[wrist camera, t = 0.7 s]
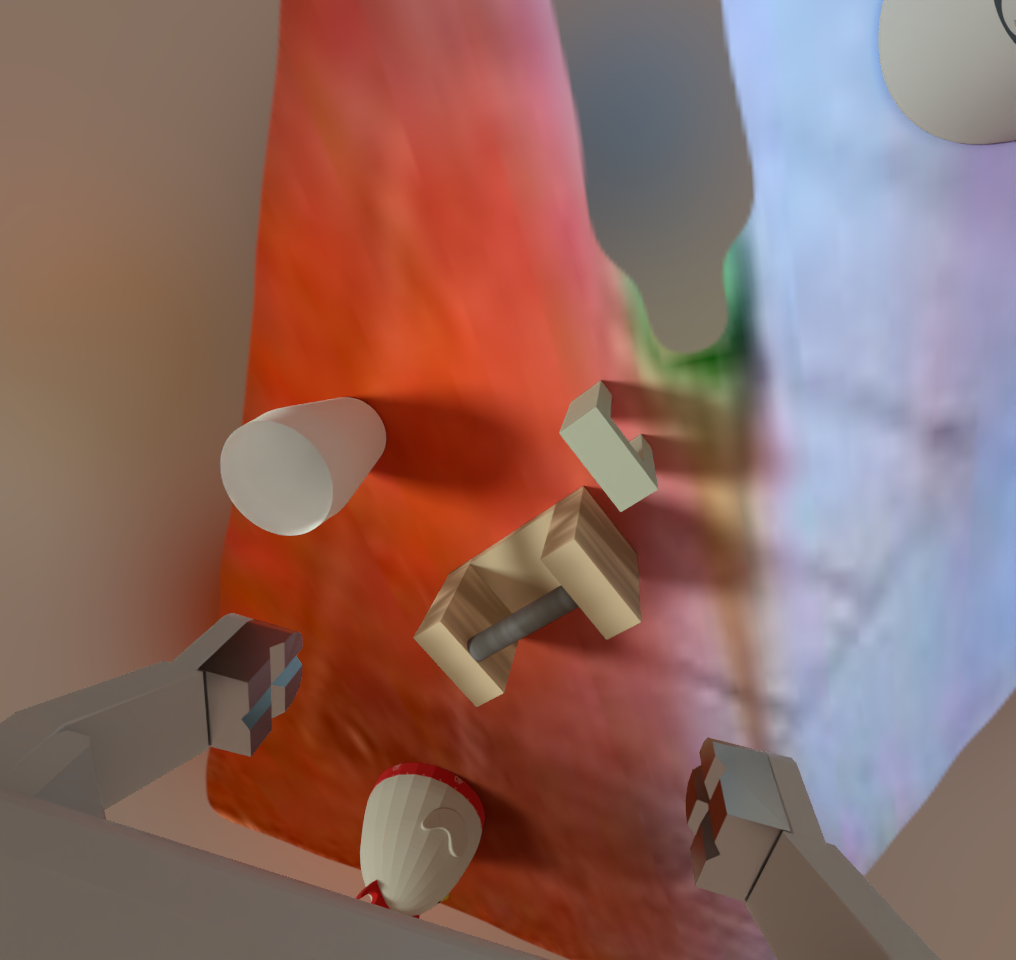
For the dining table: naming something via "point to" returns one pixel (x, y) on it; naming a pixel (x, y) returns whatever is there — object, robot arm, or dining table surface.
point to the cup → (301, 462)
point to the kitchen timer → (418, 837)
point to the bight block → (609, 449)
